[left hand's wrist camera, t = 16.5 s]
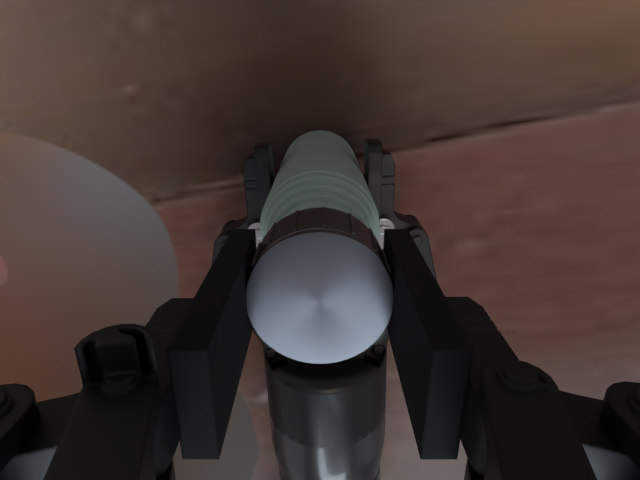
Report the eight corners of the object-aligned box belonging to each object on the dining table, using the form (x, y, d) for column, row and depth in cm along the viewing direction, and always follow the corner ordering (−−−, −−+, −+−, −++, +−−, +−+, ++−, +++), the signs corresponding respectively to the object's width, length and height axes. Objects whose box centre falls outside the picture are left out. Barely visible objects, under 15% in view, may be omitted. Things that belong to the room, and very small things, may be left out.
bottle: (268, 168, 29) (200, 295, 13) (319, 113, 28) (318, 176, 11) (320, 217, 31) (320, 390, 14) (371, 167, 29) (439, 293, 13)
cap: (298, 342, 16) (294, 386, 13) (229, 246, 14) (213, 277, 12) (406, 288, 15) (421, 325, 13) (344, 181, 13) (349, 202, 11)
